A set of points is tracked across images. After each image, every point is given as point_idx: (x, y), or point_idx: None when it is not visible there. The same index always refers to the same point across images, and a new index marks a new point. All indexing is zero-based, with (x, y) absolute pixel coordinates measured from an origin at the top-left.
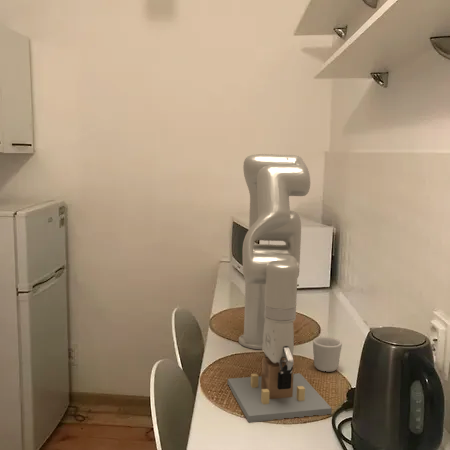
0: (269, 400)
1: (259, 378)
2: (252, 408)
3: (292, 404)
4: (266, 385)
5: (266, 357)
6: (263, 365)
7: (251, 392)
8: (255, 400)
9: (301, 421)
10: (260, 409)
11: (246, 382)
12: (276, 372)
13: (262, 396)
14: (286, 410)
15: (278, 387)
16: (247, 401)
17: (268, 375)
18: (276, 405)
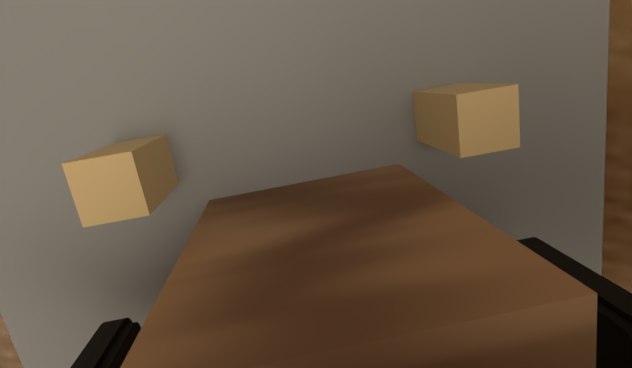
0: (185, 202)
1: (568, 171)
2: (21, 42)
3: None
4: (278, 212)
5: (592, 365)
6: (453, 256)
7: (327, 73)
8: (178, 88)
9: (4, 360)
10: (12, 110)
11: (514, 54)
12: None
13: (110, 148)
14: (28, 303)
15: (98, 331)
16: (154, 14)
17: (211, 280)
18: (104, 243)
